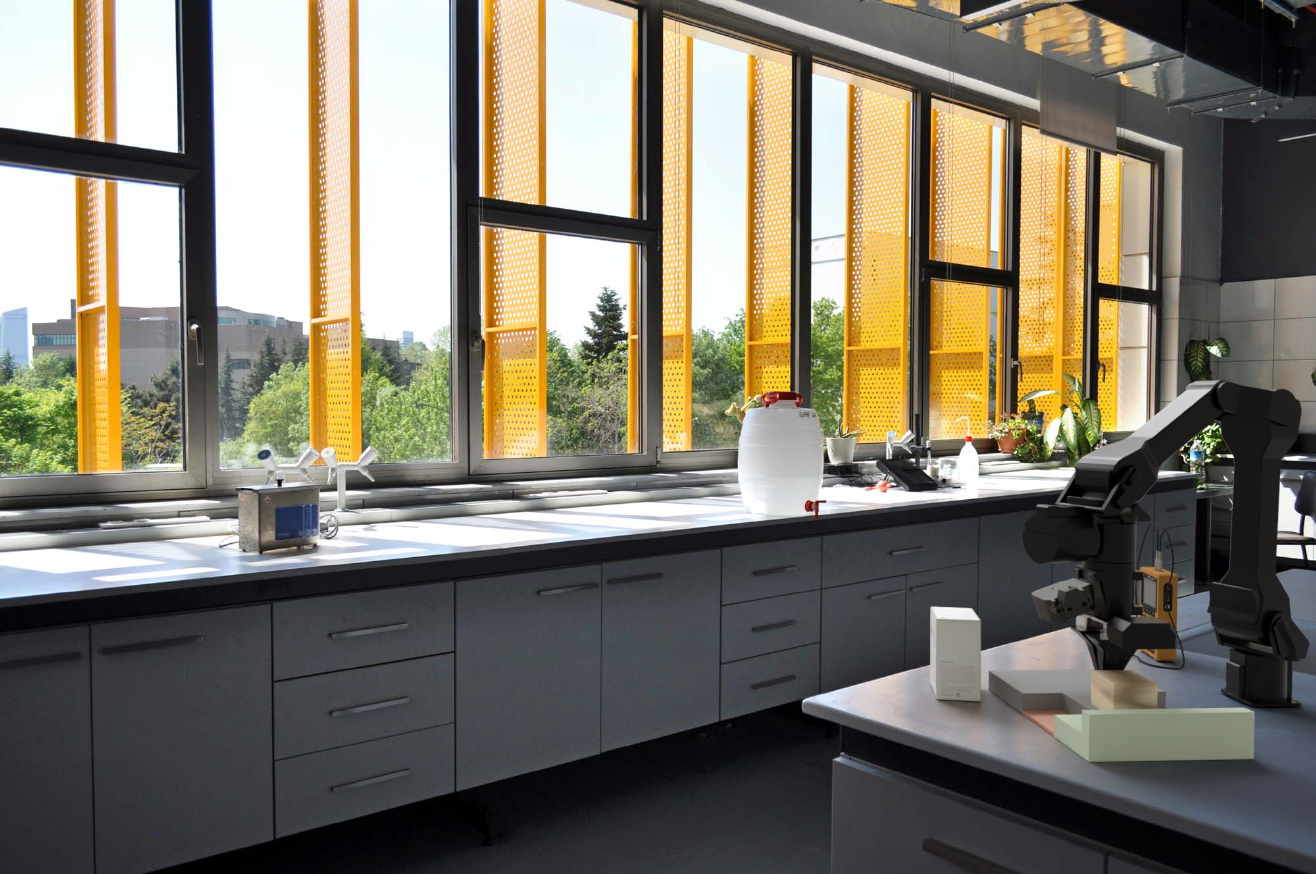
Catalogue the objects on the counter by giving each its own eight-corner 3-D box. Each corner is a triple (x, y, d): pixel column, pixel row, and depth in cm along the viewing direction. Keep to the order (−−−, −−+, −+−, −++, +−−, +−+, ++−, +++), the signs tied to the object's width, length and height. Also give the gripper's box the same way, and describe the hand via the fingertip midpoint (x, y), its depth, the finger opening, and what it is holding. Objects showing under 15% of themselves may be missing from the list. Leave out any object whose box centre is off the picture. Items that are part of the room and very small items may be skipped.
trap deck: (1120, 687, 123) (1120, 650, 123) (1253, 758, 98) (1254, 712, 97) (988, 689, 122) (988, 651, 122) (1088, 761, 97) (1089, 714, 96)
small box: (981, 703, 116) (982, 620, 116) (935, 700, 117) (935, 618, 117) (972, 685, 124) (973, 607, 124) (929, 682, 125) (930, 605, 125)
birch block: (1132, 703, 108) (1133, 670, 108) (1157, 717, 103) (1157, 682, 103) (1090, 704, 108) (1091, 670, 108) (1113, 718, 103) (1113, 682, 103)
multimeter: (1081, 642, 148) (1083, 518, 147) (1148, 645, 146) (1150, 519, 146) (1114, 667, 133) (1116, 529, 132) (1188, 670, 132) (1190, 531, 131)
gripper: (1008, 548, 118) (1006, 668, 119) (1082, 574, 100) (1079, 716, 100) (1093, 548, 119) (1090, 668, 119) (1182, 573, 100) (1178, 716, 101)
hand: (1105, 690), depth 110 cm, fingers closed
